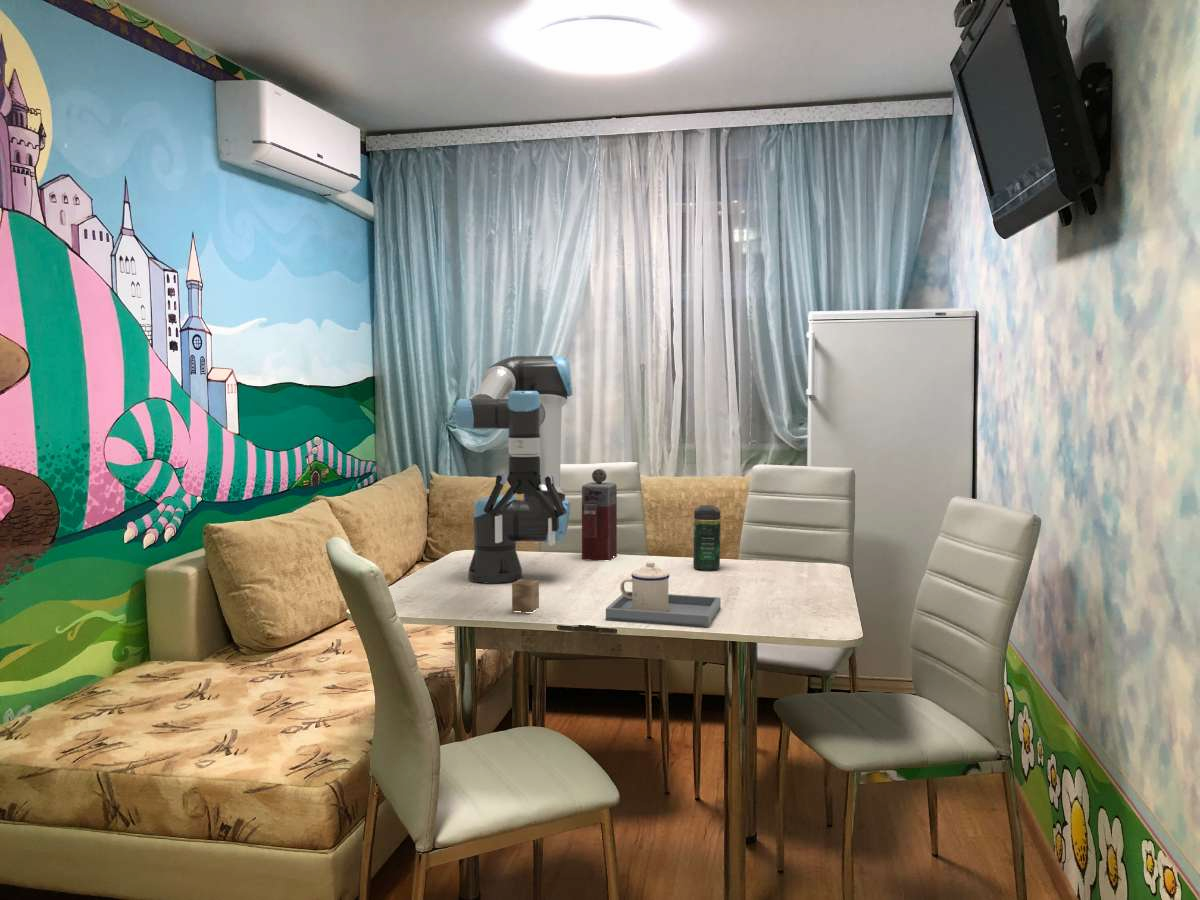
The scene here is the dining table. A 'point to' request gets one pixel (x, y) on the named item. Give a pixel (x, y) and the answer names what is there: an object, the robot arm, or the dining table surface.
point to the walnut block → (525, 595)
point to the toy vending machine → (599, 518)
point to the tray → (679, 611)
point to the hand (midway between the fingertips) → (525, 543)
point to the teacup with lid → (648, 588)
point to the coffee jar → (706, 538)
